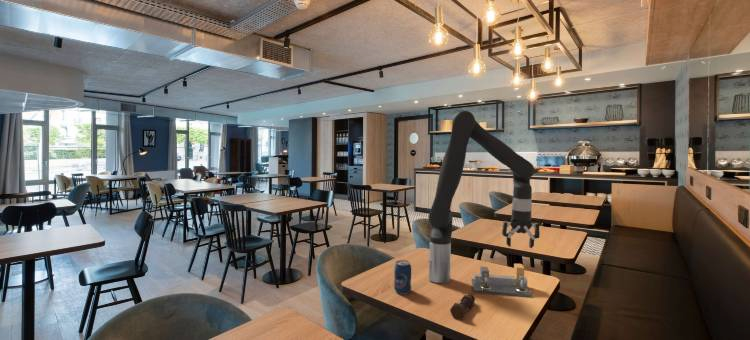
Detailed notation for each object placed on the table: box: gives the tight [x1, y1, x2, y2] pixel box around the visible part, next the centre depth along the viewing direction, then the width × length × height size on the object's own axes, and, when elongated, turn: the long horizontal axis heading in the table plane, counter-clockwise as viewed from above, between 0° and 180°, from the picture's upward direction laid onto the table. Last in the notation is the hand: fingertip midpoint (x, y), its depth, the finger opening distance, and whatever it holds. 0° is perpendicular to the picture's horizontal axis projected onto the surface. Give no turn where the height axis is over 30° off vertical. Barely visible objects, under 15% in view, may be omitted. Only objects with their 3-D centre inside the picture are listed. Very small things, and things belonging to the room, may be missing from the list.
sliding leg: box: [513, 263, 526, 288], centre depth 142 cm, size 3×8×7 cm, turn 169°
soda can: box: [393, 260, 412, 295], centre depth 139 cm, size 7×7×12 cm
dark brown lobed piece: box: [449, 293, 476, 321], centre depth 124 cm, size 6×5×15 cm
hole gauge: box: [471, 266, 533, 298], centre depth 142 cm, size 22×12×7 cm, turn 80°
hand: (519, 246), depth 142 cm, fingers open, 8 cm apart
